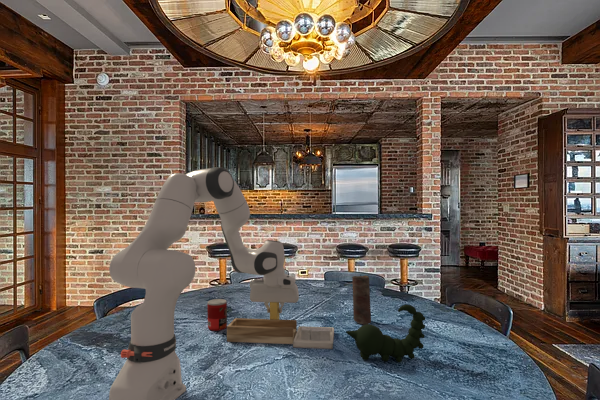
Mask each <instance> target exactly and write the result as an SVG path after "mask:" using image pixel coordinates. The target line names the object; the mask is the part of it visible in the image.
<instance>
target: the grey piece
mask: <svg viewBox="0 0 600 400" xmlns="http://www.w3.org/2000/svg"><path fill="white" fill-rule="evenodd" d="M320 330H321V328H312V329H311V340H312V341H321V338H320Z"/></svg>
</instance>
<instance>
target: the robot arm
mask: <svg viewBox="0 0 600 400" xmlns="http://www.w3.org/2000/svg"><path fill="white" fill-rule="evenodd" d="M243 193H244V192H242V190H241V188H240V187H239V184H237V182H236V181H235V180H234V178H233V175H232V174H231V172H230V171H229V170H227V168H226V167H220V166H219V167H217V166H216V167H215V166H214V167H211V168H210V167H209V168H203V169H202V168H201V169H200V168H199V169H195V170H193V171H190V172H186V173H181V172H180V173H178V172H177V173H173V174H170V175H169V176H168V177H167V178H166V180H165V181H164V183H163V185H162V186H161V188H160V190H159V192H158V195H157V196H156V199H155V201H154V204H153V205H152V209H151V211H150V214H149V217H148V219H147V221H146V223H145V225H144V227H143V228H142V229H141V231H140V232H139V234H137V236H136V237H135V238H134V239H133V240H132V241H131V243H130V244H129V245H127V246H126V247H124V249H122V250H120V251H119V252H117V253H115V254H114V256H113V257H112V259H111V261H110V264H109V269H108V270H109V276H110V277H111V280H112V281H113V282H115V283H117V284H119V285H121V286H124V287H126V288H135V289H145V296H144V300H143V302H142V303H140V304H138V305H137V306H136V307H135V308H133V310H132V312H131V315H130V337H131V338H130V341H129V344H128V347H127V349H122V350H121V351H120V358H121V359H125V358H126V360H125V362H124V364H123V366H122V367H121V369H120V370H119V372H118V374H117V376H116V377H115V379H114V381H113V382H112V384H111V386H110V389H109V392H108V400H176V399H178V398H179V397H180V396H181V395H182V394H184V393H185V392H186V391H187V385H185V384H184V383H183V380H182V379H183V378H182V367H181V360H180V358H179V356H178V355H177V353H176V349H177V339H176V334H175V311H176V306H177V302H178V299H179V297H180V295H181V294H182V292H183V291H184V290H185V289H186V288H188V286H190V285H191V283H193V280H194V278H195V276H196V263H195V260H194V258H193V257H192V256H191V254H189V253H186V252H183V251H180V250H176V249H169V248H170V247H171V246H172V245H173V244H175V243H176V242H178V241H180V240H181V239H182V238H183V237H184V236H185V234H186V232H187V229H188V225H189V223H190V219H191V216H192V213H193V211H194V210H193V209H194V206H195V203H207V202H213V205H214V206H215V209H216V211H217V213H218V215H219V218H220V221H221V222H220V227H221V231H222V235H223V238H224V241H225V243H226V246H227V248H228V251H229V255H230V263H231V266H232V269H233V271H235V272H237V273H239V274H249V275H256V276H263V277H262V278H253V279H251V280H250V282H249V289H250V293H249V300H250V301H251V302H253V303H264V304H263V305H264V306H265V309H266V313H267V314H268V313H269V314H270V302H279V308H278V313H279V314H282V312H283V307H284V305H285V303H290V304H292V303H293V304H294V303H295V304H297V302H299V299H300V295H299V288H298V285H297V283H296V277H295V276H293V275H289V274H287V273H285V267H284V265H285V261H286V260H285V259H286V258H285V249H284V244H283V242H281V241H280V240H272V239H271V240H270V239H267V240H265V241H264V243H263V245H262V246H260V247H259V248H257V249H250V248H247V247H246V246H245V245H244V243H243V240H242V237H241V233H240V229H241V228H242V227H243V226H244V225H246V223H247V222H248V221H249V219H250V216H251V210H250V207H249V204H248V202H247V199H246V198H245V195H244V194H243Z"/></svg>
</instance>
